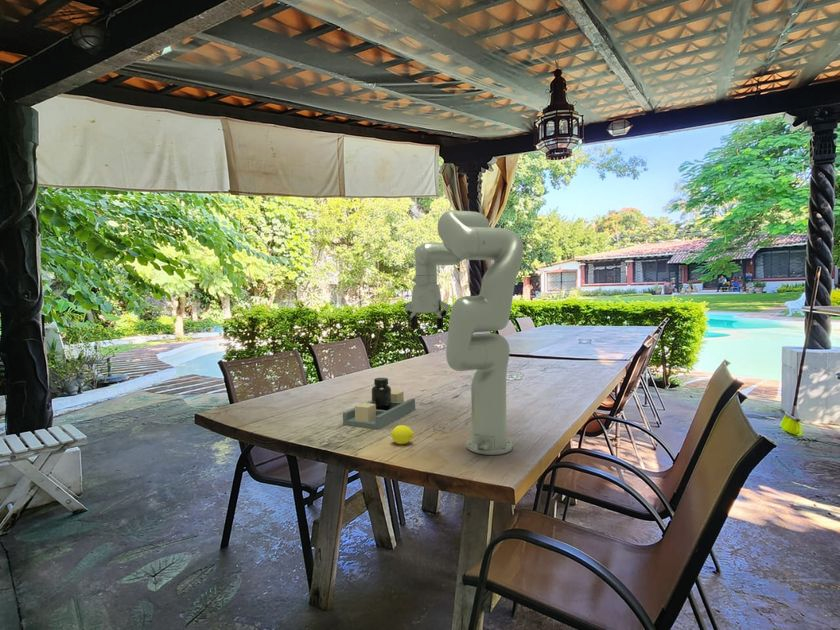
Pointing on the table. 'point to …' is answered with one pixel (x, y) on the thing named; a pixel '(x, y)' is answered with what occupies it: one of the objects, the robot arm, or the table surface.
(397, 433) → the lemon
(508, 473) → the table surface
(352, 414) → the rail rack
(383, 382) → the supplement bottle
